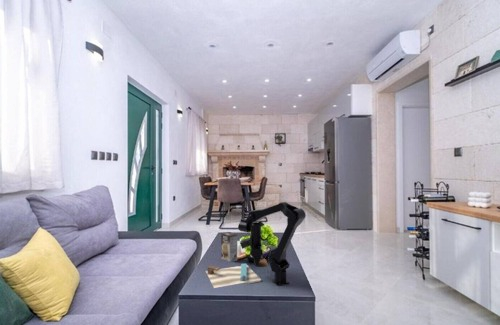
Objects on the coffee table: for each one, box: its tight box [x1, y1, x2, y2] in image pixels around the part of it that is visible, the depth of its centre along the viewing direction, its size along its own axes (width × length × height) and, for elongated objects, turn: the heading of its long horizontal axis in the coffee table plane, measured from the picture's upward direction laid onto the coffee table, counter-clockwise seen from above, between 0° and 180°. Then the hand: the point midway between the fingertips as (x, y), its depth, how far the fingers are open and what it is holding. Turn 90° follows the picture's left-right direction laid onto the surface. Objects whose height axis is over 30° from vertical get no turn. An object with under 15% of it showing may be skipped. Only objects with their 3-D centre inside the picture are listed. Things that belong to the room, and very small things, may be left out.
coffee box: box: [220, 231, 238, 262], centre depth 159 cm, size 9×6×16 cm
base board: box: [205, 264, 262, 289], centre depth 134 cm, size 21×24×1 cm
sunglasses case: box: [253, 257, 269, 268], centre depth 156 cm, size 18×7×7 cm
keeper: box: [207, 265, 221, 275], centre depth 136 cm, size 6×3×3 cm, turn 60°
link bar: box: [240, 263, 248, 281], centre depth 136 cm, size 18×3×2 cm, turn 0°
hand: (256, 263), depth 136 cm, fingers open, 9 cm apart
